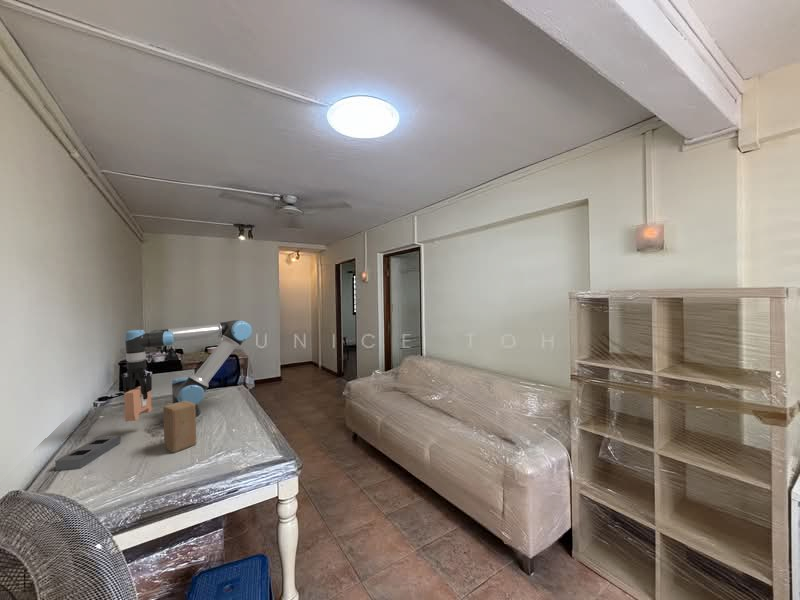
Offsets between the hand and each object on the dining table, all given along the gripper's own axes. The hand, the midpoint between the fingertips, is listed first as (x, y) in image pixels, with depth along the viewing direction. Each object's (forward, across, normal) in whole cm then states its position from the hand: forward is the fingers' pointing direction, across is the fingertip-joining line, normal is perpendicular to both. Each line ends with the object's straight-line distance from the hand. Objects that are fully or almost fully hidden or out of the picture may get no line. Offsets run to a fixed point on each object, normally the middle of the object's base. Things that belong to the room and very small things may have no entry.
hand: (138, 405), depth 160 cm
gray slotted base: (+15, +8, +19) cm, 26 cm away
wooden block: (+16, -27, +16) cm, 36 cm away
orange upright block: (+5, 0, 0) cm, 5 cm away
